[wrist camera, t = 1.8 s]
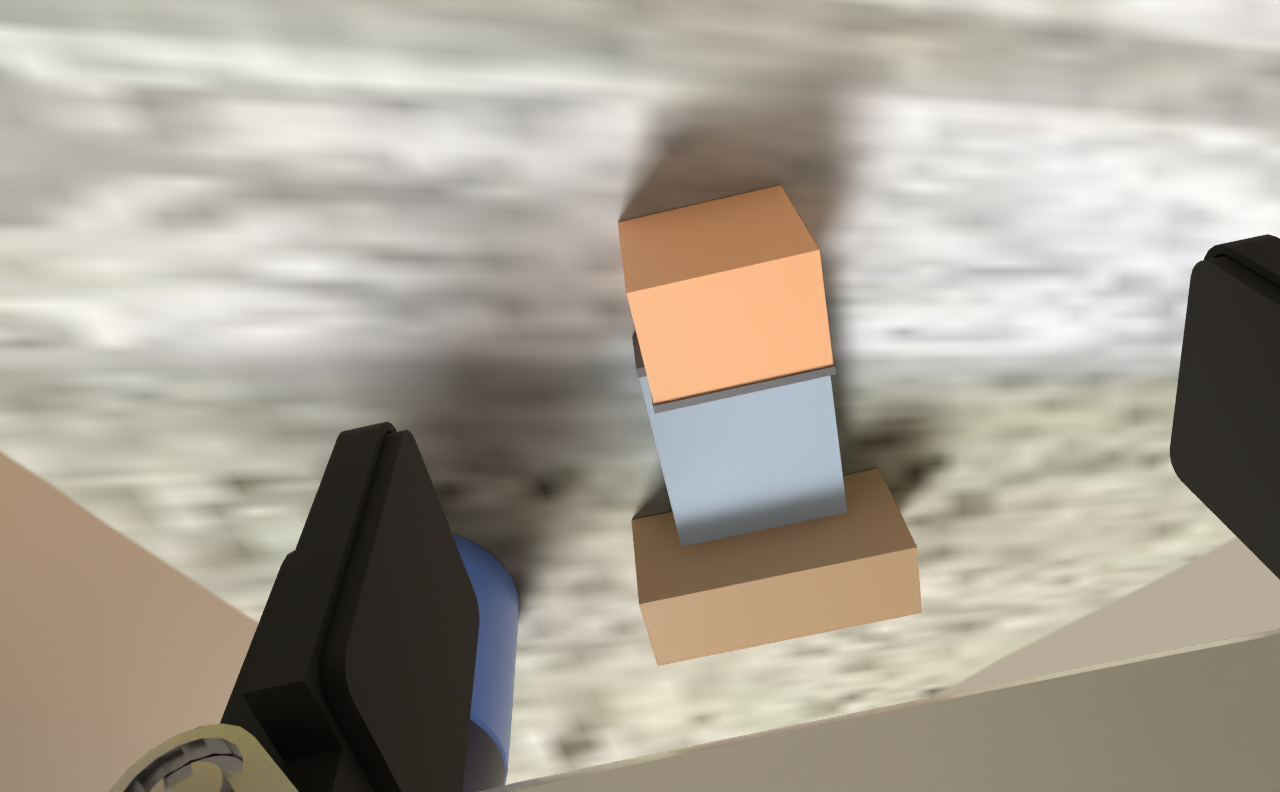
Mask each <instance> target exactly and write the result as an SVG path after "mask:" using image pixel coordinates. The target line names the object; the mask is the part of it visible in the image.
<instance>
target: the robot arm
mask: <svg viewBox="0 0 1280 792" xmlns="http://www.w3.org/2000/svg"><path fill="white" fill-rule="evenodd" d="M1170 458H1171V463H1172V466H1173V468H1174V471H1175V472H1176V474H1177V476H1178V477H1179V479H1180V480H1181V481H1182V482H1183V483H1184V484H1185V485H1186V486H1187V487H1188V488H1189V489H1190V490H1191V491H1192V492H1193V493H1194V494H1195V495H1196V496H1197V497H1198V498H1199V499H1200V500H1201V501H1202V502H1203V503H1204V504H1205V505H1206V506H1207V507H1208V508H1209V509H1210V510H1211V511H1212V512H1213V513H1214V514H1215V515H1216V516H1217V517H1218V518H1219V519H1220V520H1221V521H1222V522H1223V523H1224V524H1225V525H1226V526H1227V527H1228V528H1229V529H1230V530H1231V531H1232V532H1233V533H1234V534H1235V535H1236V536H1237V537H1238V538H1239V539H1240V540H1241V541H1242V542H1243V543H1244V544H1245V545H1246V546H1247V547H1248V548H1249V549H1250V550H1251V551H1252V552H1253V553H1254V554H1255V555H1256V556H1257V557H1258V558H1259V559H1260V560H1261V561H1262V562H1263V563H1264V564H1265V565H1266V566H1267V567H1268V568H1269V569H1270V570H1271V571H1272V572H1273V573H1274V574H1275V575H1276V576H1277V577H1278V578H1279V579H1280V239H1279V238H1278V237H1275V236H1272V235H1262V236H1257V237H1253V238H1248V239H1243V240H1238V241H1234V242H1229V243H1224V244H1220V245H1215V246H1214V247H1212V248H1211V249H1210V250H1209V251H1208V252H1207V254H1206V256H1205V258H1204V260H1203V261H1200V262H1198V263H1197V264H1196V265H1195V266H1194V268H1193V270H1192V274H1191V279H1190V288H1189V296H1188V304H1187V312H1186V321H1185V329H1184V337H1183V345H1182V353H1181V362H1180V370H1179V378H1178V386H1177V394H1176V403H1175V411H1174V419H1173V427H1172V435H1171V444H1170ZM479 623H480V617H479V607H478V602H477V597H476V594H475V591H474V589H473V586H472V584H471V581H470V579H469V576H468V573H467V571H466V568H465V566H464V563H463V561H462V558H461V556H460V553H459V551H458V548H457V546H456V543H455V540H454V538H453V535H452V533H451V530H450V528H449V525H448V523H447V520H446V518H445V515H444V512H443V510H442V507H441V505H440V502H439V500H438V497H437V495H436V492H435V490H434V487H433V485H432V482H431V479H430V477H429V474H428V472H427V469H426V467H425V464H424V462H423V459H422V457H421V454H420V451H419V449H418V446H417V444H416V441H415V439H414V437H413V435H412V434H411V432H410V431H408V430H404V431H399V432H397V431H396V429H395V428H394V426H393V425H392V424H391V423H389V422H384V423H380V424H375V425H370V426H365V427H361V428H356V429H351V430H347V431H343V432H341V433H340V434H339V436H338V438H337V441H336V443H335V446H334V449H333V451H332V454H331V457H330V459H329V462H328V465H327V467H326V470H325V473H324V475H323V478H322V481H321V483H320V486H319V489H318V491H317V494H316V497H315V499H314V502H313V504H312V507H311V510H310V512H309V515H308V518H307V520H306V523H305V526H304V528H303V531H302V534H301V536H300V539H299V542H298V544H297V547H296V550H294V551H293V552H291V553H289V554H288V555H287V556H286V558H285V560H284V561H283V563H282V565H281V567H280V570H279V573H278V575H277V578H276V580H275V583H274V585H273V588H272V591H271V593H270V596H269V598H268V601H267V604H266V606H265V609H264V611H263V614H262V616H261V619H260V622H259V624H258V627H257V629H256V632H255V635H254V637H253V640H252V642H251V645H250V648H249V650H248V653H247V655H246V658H245V660H244V663H243V666H242V668H241V670H240V673H239V676H238V678H237V681H236V684H235V686H234V688H233V691H232V694H231V697H230V699H229V701H228V704H227V707H226V709H225V712H224V714H223V717H222V719H221V722H220V724H215V725H208V726H200V727H197V728H194V729H192V730H189V731H186V732H184V733H181V734H178V735H176V736H174V737H172V738H170V739H169V740H167V741H165V742H163V743H162V744H160V745H159V746H157V747H155V748H153V749H152V750H150V751H149V752H148V753H146V754H145V755H144V756H143V757H142V758H140V759H139V760H138V761H137V762H136V763H134V764H133V765H132V766H131V767H129V768H128V769H127V770H126V771H125V773H124V774H123V775H122V776H121V777H120V779H119V780H118V781H117V782H116V783H115V784H114V785H113V787H112V788H111V789H110V790H109V791H108V792H463V782H464V773H465V763H466V753H467V743H468V733H469V723H470V713H471V703H472V693H473V683H474V674H475V664H476V654H477V644H478V634H479ZM480 792H1280V629H1277V630H1273V631H1267V632H1262V633H1257V634H1252V635H1247V636H1241V637H1236V638H1231V639H1226V640H1221V641H1216V642H1210V643H1205V644H1200V645H1195V646H1189V647H1184V648H1179V649H1174V650H1169V651H1164V652H1159V653H1154V654H1148V655H1143V656H1139V657H1133V658H1128V659H1123V660H1118V661H1113V662H1108V663H1103V664H1098V665H1093V666H1088V667H1083V668H1078V669H1073V670H1067V671H1062V672H1057V673H1052V674H1047V675H1042V676H1038V677H1032V678H1027V679H1022V680H1017V681H1012V682H1007V683H1002V684H997V685H992V686H987V687H982V688H977V689H972V690H967V691H962V692H957V693H952V694H947V695H942V696H937V697H932V698H927V699H922V700H917V701H911V702H906V703H901V704H896V705H891V706H886V707H881V708H876V709H871V710H866V711H862V712H857V713H852V714H847V715H842V716H837V717H832V718H827V719H822V720H818V721H813V722H808V723H803V724H798V725H793V726H788V727H783V728H778V729H773V730H769V731H764V732H759V733H754V734H749V735H744V736H739V737H734V738H729V739H724V740H720V741H715V742H710V743H705V744H700V745H695V746H690V747H685V748H680V749H676V750H671V751H666V752H661V753H656V754H651V755H646V756H641V757H636V758H631V759H627V760H622V761H617V762H612V763H607V764H603V765H598V766H593V767H588V768H583V769H579V770H574V771H569V772H564V773H560V774H555V775H550V776H545V777H540V778H536V779H531V780H526V781H521V782H517V783H513V784H509V785H505V786H501V787H496V788H492V789H488V790H484V791H480Z"/></svg>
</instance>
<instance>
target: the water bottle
mask: <svg viewBox="0 0 1280 792" xmlns="http://www.w3.org/2000/svg"><path fill="white" fill-rule="evenodd" d="M452 535H453V538H454V540H455V543H456V546H457V548H458V551H459V553H460V556H461V558H462V561H463V563H464V566H465V568H466V571H467V573H468V576H469V579H470V581H471V584H472V586H473V589H474V591H475V594H476V597H477V602H478V607H479V617H480V623H479V634H478V644H477V654H476V664H475V674H474V683H473V693H472V703H471V713H470V723H469V733H468V743H467V753H466V763H465V773H464V782H463V792H480V791H484V790H488V789H492V788H496V787H501V786H505V782H506V777H507V771H508V759H509V746H510V732H511V719H512V706H513V691H514V675H515V660H516V645H517V630H518V615H519V601H518V592H517V589H516V587H515V584H514V581H513V579H512V577H511V576H510V574H509V573H508V571H507V570H506V568H505V567H504V565H503V564H502V563H501V562H500V561H498V560H497V559H496V558H495V557H494V556H493V555H492V554H491V553H490V552H488V551H487V550H485V549H484V548H482V547H481V546H479V545H477V544H476V543H474V542H472V541H469V540H467V539H465V538H462V537H460V536H458V535H454V534H452Z"/></svg>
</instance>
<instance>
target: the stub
mask: <svg viewBox="0 0 1280 792" xmlns="http://www.w3.org/2000/svg"><path fill="white" fill-rule="evenodd" d="M618 227H619V236H620V244H621V252H622V260H623V268H624V277H625V285H626V293H627V297H628V301H629V305H630V309H631V313H632V317H633V321H634V326H635V330H636V334H637V338H638V342H639V346H640V350H641V354H642V358H643V362H644V366H645V370H646V374H647V378H648V382H649V386H650V390H651V397H652V404H653V409H654V413H655V414H656V413H660V412H665V411H669V410H674V409H679V408H683V407H688V406H692V405H697V404H702V403H706V402H711V401H715V400H720V399H725V398H729V397H734V396H738V395H743V394H748V393H752V392H757V391H761V390H766V389H771V388H775V387H780V386H784V385H789V384H794V383H798V382H803V381H807V380H812V379H817V378H821V377H826V376H830V375H835V374H836V366H835V364H834V362H833V358H832V349H831V341H830V333H829V324H828V316H827V308H826V299H825V291H824V283H823V274H822V266H821V258H820V250H819V248H818V246H817V245H816V243H815V241H814V240H813V238H812V236H811V235H810V233H809V231H808V230H807V228H806V226H805V224H804V223H803V221H802V219H801V218H800V216H799V214H798V213H797V211H796V209H795V208H794V206H793V204H792V203H791V201H790V199H789V198H788V196H787V194H786V192H785V191H784V189H783V187H782V186H781V185H778V186H774V187H769V188H765V189H761V190H756V191H752V192H748V193H743V194H739V195H735V196H730V197H726V198H722V199H717V200H713V201H709V202H704V203H700V204H696V205H691V206H687V207H683V208H678V209H674V210H669V211H665V212H661V213H656V214H652V215H648V216H643V217H639V218H635V219H630V220H626V221H622V222H618Z"/></svg>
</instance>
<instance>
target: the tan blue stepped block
mask: <svg viewBox="0 0 1280 792" xmlns="http://www.w3.org/2000/svg"><path fill="white" fill-rule="evenodd" d="M632 338H633V346H634V354H635V362H636V370H637V373H638V377H639V381H640V385H641V389H642V392H643V396H644V400H645V404H646V408H647V412H648V416H649V420H650V424H651V428H652V432H653V436H654V440H655V444H656V448H657V452H658V456H659V460H660V463H661V467H662V471H663V475H664V479H665V483H666V487H667V491H668V495H669V499H670V503H671V507H672V512H667V513H663V514H658V515H653V516H648V517H644V518H639V519H634V520H632V529H633V540H634V552H635V563H636V574H637V585H638V596H639V605H640V609H641V612H642V615H643V619H644V622H645V625H646V629H647V632H648V635H649V639H650V642H651V645H652V649H653V652H654V655H655V659H656V662H657V665H658V666H660V665H665V664H670V663H674V662H679V661H684V660H689V659H694V658H699V657H704V656H709V655H714V654H719V653H724V652H729V651H734V650H739V649H744V648H749V647H754V646H759V645H764V644H769V643H774V642H779V641H784V640H789V639H794V638H799V637H804V636H809V635H814V634H819V633H824V632H829V631H833V630H838V629H843V628H848V627H853V626H858V625H863V624H868V623H873V622H878V621H883V620H888V619H893V618H898V617H903V616H908V615H913V614H918V613H922V609H921V596H920V582H919V568H918V554H917V546H916V544H915V542H914V540H913V538H912V536H911V534H910V532H909V530H908V528H907V526H906V524H905V521H904V519H903V517H902V515H901V513H900V511H899V509H898V507H897V505H896V503H895V501H894V499H893V497H892V495H891V492H890V490H889V488H888V486H887V484H886V482H885V480H884V478H883V476H882V474H881V472H880V470H879V468H876V469H871V470H866V471H862V472H857V473H852V474H848V475H843V473H842V465H841V457H840V449H839V441H838V433H837V425H836V416H835V408H834V400H833V392H832V384H831V376H826V377H821V378H817V379H812V380H807V381H803V382H798V383H794V384H789V385H784V386H780V387H775V388H771V389H766V390H761V391H757V392H752V393H748V394H743V395H738V396H734V397H729V398H725V399H720V400H715V401H711V402H706V403H702V404H697V405H692V406H688V407H683V408H679V409H674V410H669V411H665V412H660V413H656V414H655V413H654V409H653V404H652V397H651V390H650V386H649V382H648V378H647V374H646V370H645V366H644V362H643V358H642V354H641V350H640V346H639V342H638V338H637V336H634V337H632Z"/></svg>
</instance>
